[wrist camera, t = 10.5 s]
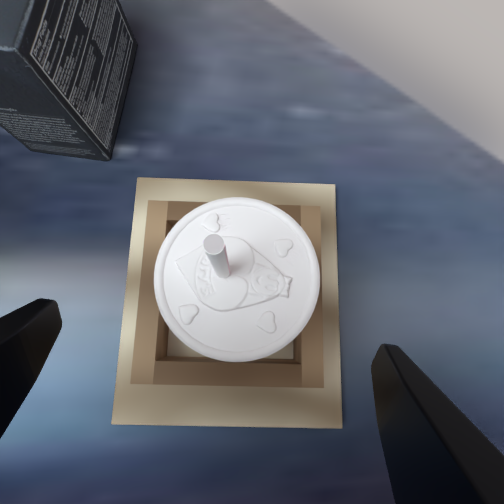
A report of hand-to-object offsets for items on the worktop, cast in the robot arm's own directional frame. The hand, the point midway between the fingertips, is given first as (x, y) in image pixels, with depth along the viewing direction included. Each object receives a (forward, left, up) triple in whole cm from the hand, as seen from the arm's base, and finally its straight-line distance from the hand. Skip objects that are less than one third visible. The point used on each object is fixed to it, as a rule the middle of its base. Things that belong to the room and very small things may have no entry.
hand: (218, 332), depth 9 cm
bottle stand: (+2, 0, -13) cm, 14 cm away
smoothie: (+2, 0, -13) cm, 13 cm away
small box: (+17, +12, -14) cm, 25 cm away
